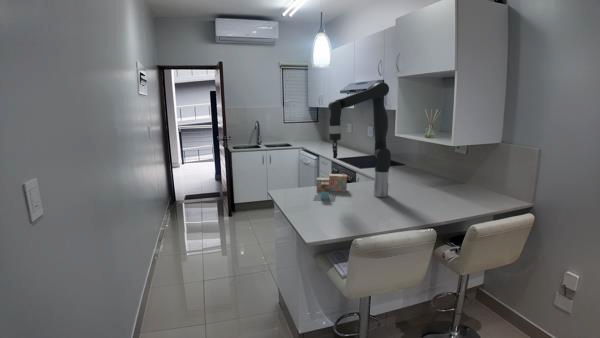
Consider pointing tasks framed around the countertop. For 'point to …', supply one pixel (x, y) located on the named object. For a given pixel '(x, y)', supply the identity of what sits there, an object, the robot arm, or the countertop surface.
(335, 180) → the stack of blocks
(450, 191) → the countertop surface
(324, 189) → the walnut cube
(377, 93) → the robot arm
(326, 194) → the teal cube
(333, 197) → the build mat
